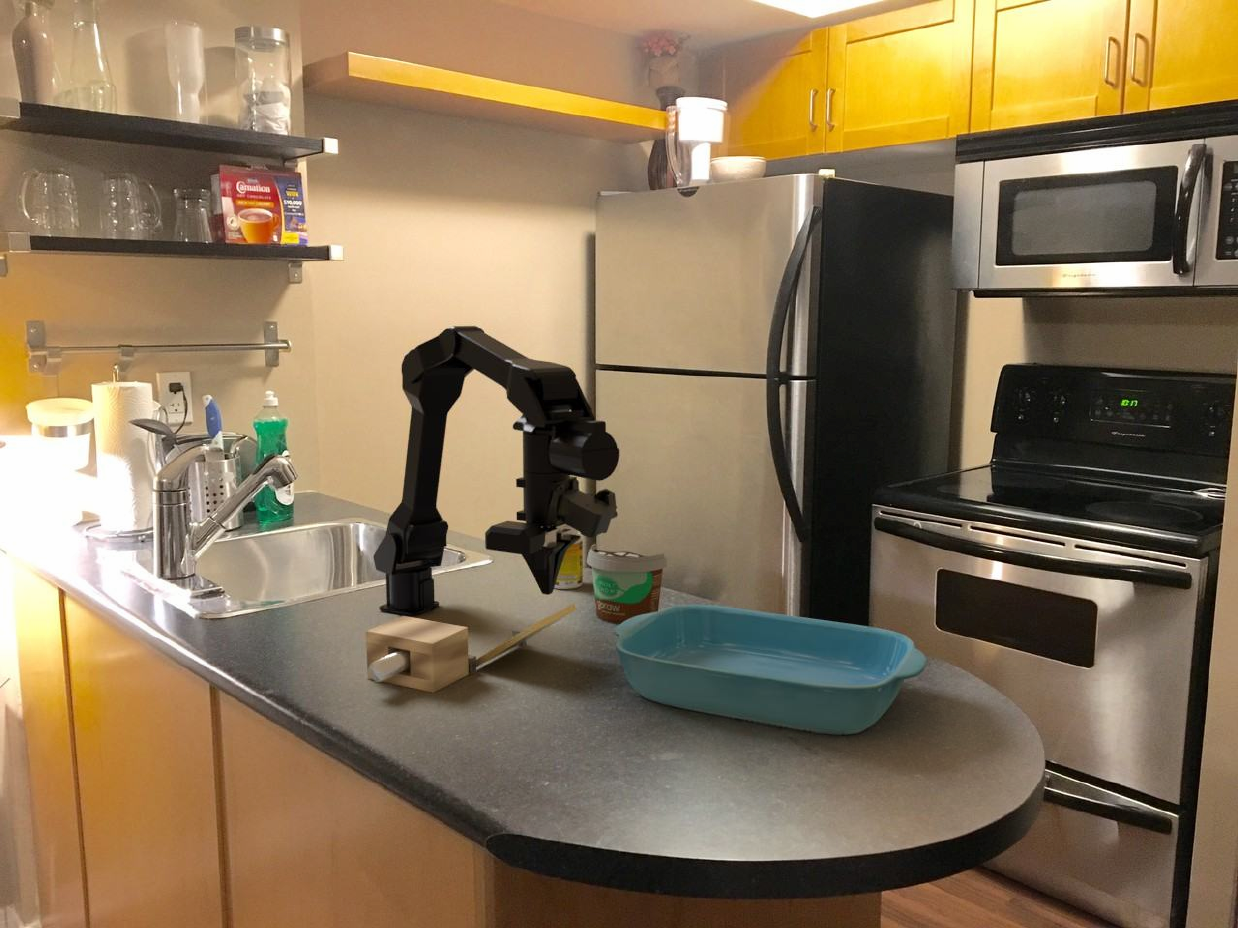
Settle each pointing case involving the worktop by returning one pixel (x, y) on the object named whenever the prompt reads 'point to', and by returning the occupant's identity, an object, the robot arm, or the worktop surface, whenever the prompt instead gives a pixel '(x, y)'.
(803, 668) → the casserole dish
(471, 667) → the keeper bracket
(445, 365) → the robot arm
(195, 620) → the worktop surface
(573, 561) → the supplement bottle
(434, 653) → the block
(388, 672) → the hitch pin
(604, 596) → the food container
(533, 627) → the plate
